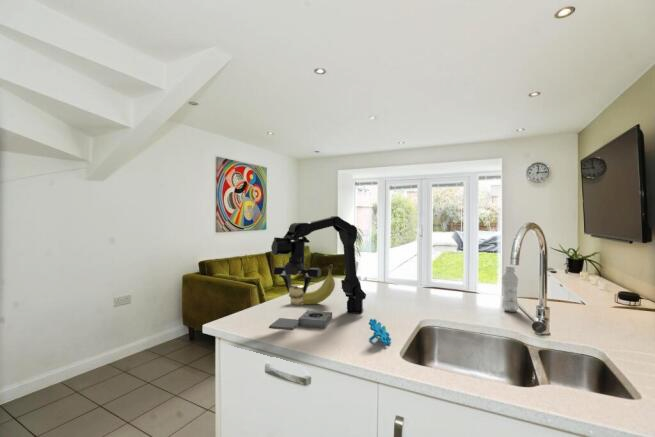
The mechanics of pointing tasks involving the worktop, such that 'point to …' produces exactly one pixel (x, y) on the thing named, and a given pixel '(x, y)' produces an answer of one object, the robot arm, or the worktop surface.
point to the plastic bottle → (510, 290)
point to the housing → (315, 319)
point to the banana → (321, 290)
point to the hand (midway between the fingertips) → (296, 292)
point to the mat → (285, 323)
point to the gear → (379, 332)
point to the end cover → (296, 294)
